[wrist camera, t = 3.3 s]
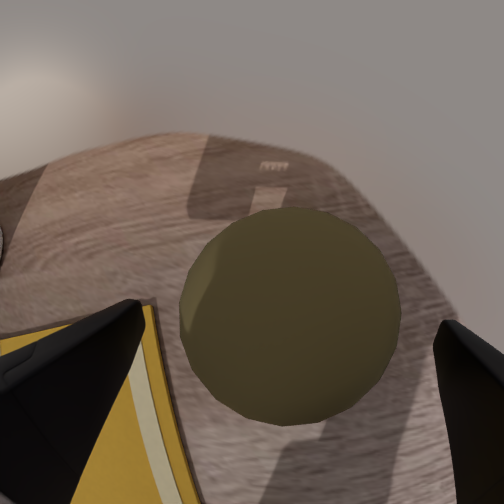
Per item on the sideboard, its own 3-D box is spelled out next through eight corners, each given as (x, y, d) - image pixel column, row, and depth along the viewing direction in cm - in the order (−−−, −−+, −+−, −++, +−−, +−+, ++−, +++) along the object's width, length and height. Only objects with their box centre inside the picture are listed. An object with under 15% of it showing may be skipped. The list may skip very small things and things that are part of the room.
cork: (222, 304, 17) (127, 206, 7) (329, 276, 17) (376, 142, 7) (247, 412, 15) (170, 481, 5) (360, 382, 15) (471, 397, 5)
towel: (237, 592, 10) (236, 596, 10) (50, 564, 10) (47, 566, 10) (152, 305, 18) (149, 304, 17) (-11, 343, 18) (-15, 342, 17)
